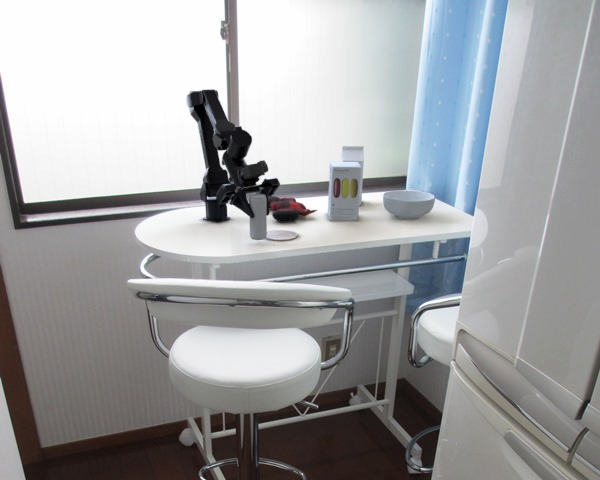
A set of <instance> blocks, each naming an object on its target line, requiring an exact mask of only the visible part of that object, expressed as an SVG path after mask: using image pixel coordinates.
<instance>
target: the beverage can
mask: <svg viewBox="0 0 600 480" xmlns="http://www.w3.org/2000/svg"><path fill="white" fill-rule="evenodd" d="M248 202H249V204H250V207H251V209H252V211H253V213H254V218H251V217H249V238H250V239H251V240H253V241H264V240H266V237H267V232H268V228H267V226H268V224H267V221H268V219H267V217H268V216H267V209H266V195H264V194H256V193H250V195H249V198H248Z"/></svg>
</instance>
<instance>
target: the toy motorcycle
mask: <svg viewBox="0 0 600 480" xmlns="http://www.w3.org/2000/svg"><path fill="white" fill-rule="evenodd" d="M268 204H269V210H272V211H273V212H272V214H271V215H272V218H273V219H274V220H276V221H277V222H282V223H288V222H289V223H290V222H293V221H296V220H298V218H299V217H300V216H301V217H306V216H309V215H311V214H313V213H315V212H317V211H318V209H312V210H311V209H309V208H307V207H306V205H304V203H302V202H299V201H297V200H296V198H294V197H281V198H280V197H278V196H276V195H272V196H268Z"/></svg>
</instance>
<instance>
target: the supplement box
mask: <svg viewBox="0 0 600 480" xmlns="http://www.w3.org/2000/svg"><path fill="white" fill-rule="evenodd" d="M328 175H329V177H328V198H327V216H328V218H329V221H330V222H334V221H335V222H336V221H337V222H338V221H339V222H341V221H342V222H346V221H347V222H358V221H359V213H360V205H359V198H360V182H361V166H360V165H359V163H358V162H342V161H329V174H328Z"/></svg>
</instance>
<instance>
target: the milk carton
mask: <svg viewBox="0 0 600 480" xmlns="http://www.w3.org/2000/svg"><path fill="white" fill-rule="evenodd" d="M341 149H342V150H341V162H358V163H359V165H360V166H361V182H360V198H359V206H362V200H363V199H362V198H363V181H364V161H365V160H364V159H365V158H364V156H365V155H364V146H363V145H362V146H359V145H357V146H355V145H342V147H341Z"/></svg>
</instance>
